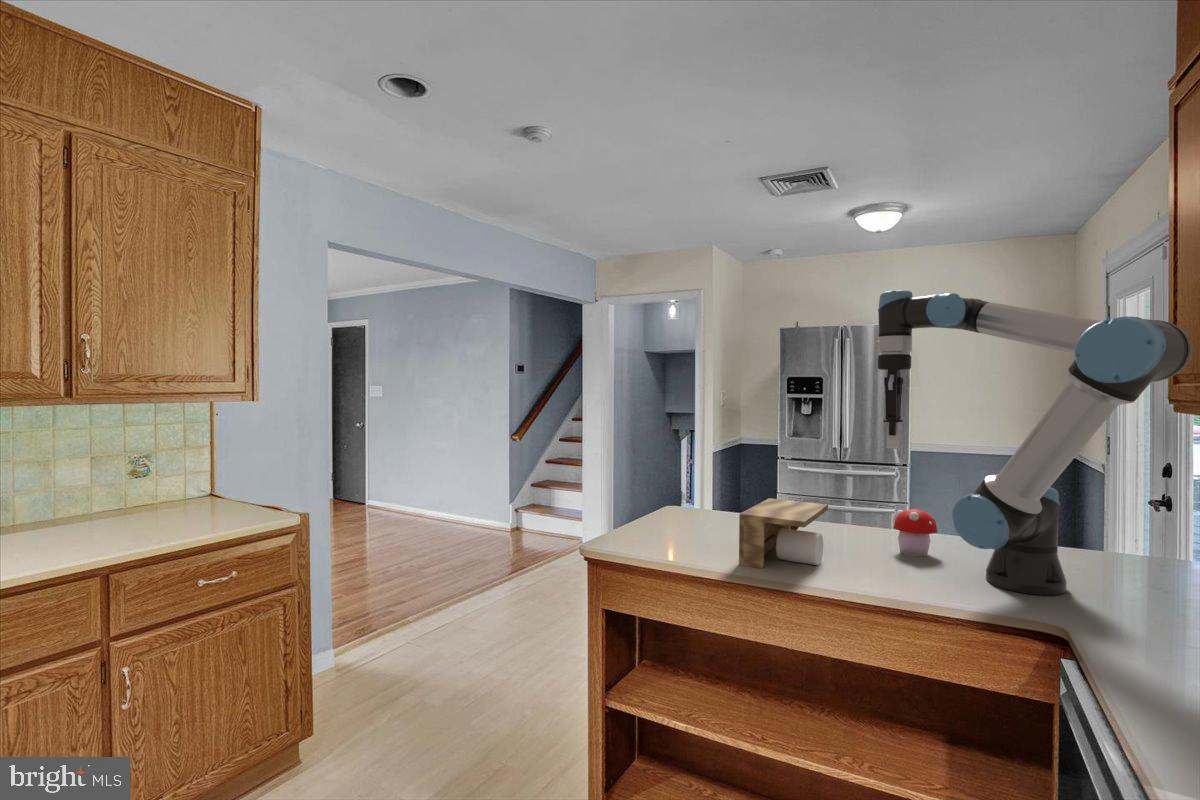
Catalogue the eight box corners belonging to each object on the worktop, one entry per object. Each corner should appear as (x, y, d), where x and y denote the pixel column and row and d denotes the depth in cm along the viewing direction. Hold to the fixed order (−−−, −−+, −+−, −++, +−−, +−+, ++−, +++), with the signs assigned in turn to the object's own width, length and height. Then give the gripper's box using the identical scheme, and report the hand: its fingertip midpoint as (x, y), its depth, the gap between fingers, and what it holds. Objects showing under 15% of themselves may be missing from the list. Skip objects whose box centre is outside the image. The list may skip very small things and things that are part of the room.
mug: (815, 569, 153) (816, 536, 153) (775, 562, 159) (775, 531, 159) (826, 557, 164) (827, 527, 163) (788, 551, 169) (789, 522, 169)
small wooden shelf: (827, 552, 168) (828, 504, 168) (803, 575, 148) (804, 521, 148) (768, 543, 177) (769, 498, 176) (738, 564, 157) (739, 513, 156)
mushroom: (901, 545, 175) (901, 503, 175) (943, 553, 167) (944, 508, 167) (886, 552, 168) (887, 508, 167) (930, 561, 160) (931, 515, 159)
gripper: (882, 355, 163) (880, 445, 164) (873, 353, 152) (872, 449, 153) (914, 354, 159) (912, 446, 159) (907, 352, 148) (905, 451, 148)
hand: (892, 448), depth 156 cm, fingers closed
